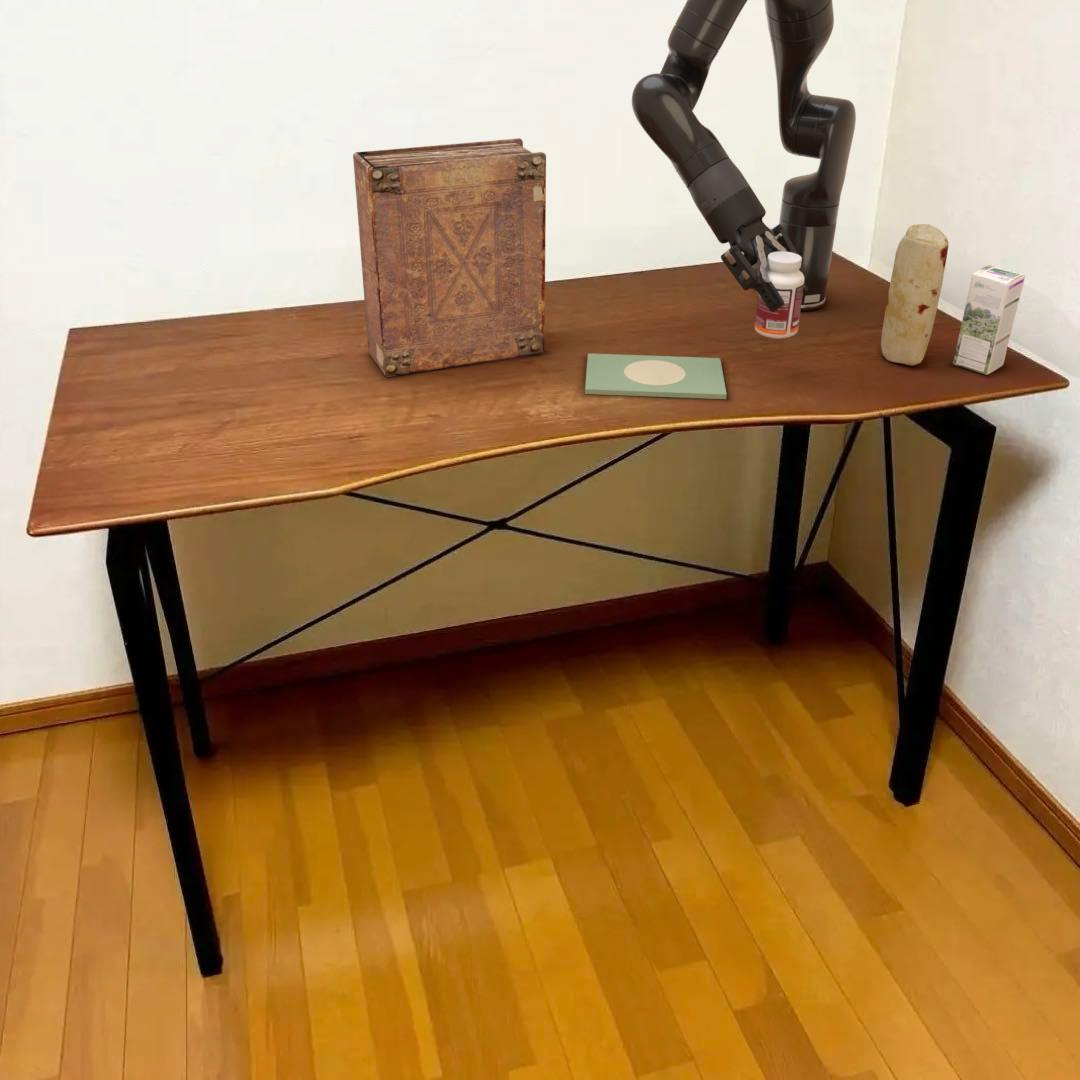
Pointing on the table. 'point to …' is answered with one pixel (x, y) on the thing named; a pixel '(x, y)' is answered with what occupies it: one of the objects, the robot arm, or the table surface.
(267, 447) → the table surface
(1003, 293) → the syrup box
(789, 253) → the pill bottle
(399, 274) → the book
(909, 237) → the food model
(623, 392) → the mat
